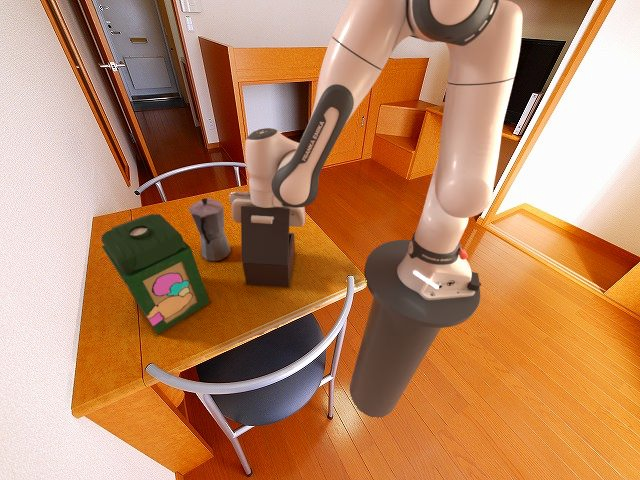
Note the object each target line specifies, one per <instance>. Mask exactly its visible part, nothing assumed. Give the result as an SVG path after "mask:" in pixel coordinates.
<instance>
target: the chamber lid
mask: <svg viewBox="0 0 640 480" xmlns="http://www.w3.org/2000/svg"><path fill="white" fill-rule="evenodd" d="M289 221H290V209H284V208H262V207H252V206H241V223H240V238H241V239H240V240H241V241H240V245H241V246H240V247H241V248H240V249H241V251H240V252H241V264H242V263H257V264H272V265H288V253H289V233H290V226H289Z"/></svg>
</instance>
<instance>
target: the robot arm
mask: <svg viewBox="0 0 640 480" xmlns="http://www.w3.org/2000/svg"><path fill="white" fill-rule="evenodd" d="M523 16H524V15H523V11H522V9H521V7H520V5H518V4H517V3H515V2H513V1H510V0H350V1H349V3H348V5H347V6H346V8H345V9H344V11H343V14H342V16H341V17H340V19H339V21H338V23H337V25H336V27H335V30H334V32H333V34H332V36H331V38H330V41H329V43H328V45H327V49H326V51H325V54H324V56H323V60H322V63H321V68H320V71H319V76H318V81H317V87H316V92H315V99H314V104H313V107H312V112H311V116H310V119H309V121H308V124H307V126H306V128H305V130H304V132H303V134H302V136H301V138H300V141H299V142H297V141H294V140H292V139H290V138H288V137H287V136H285V135H283V134H282V133H281V132H280V131H279V130H277V129H276V128H271V127H266V128H265V127H264V128H259V129H257V130H253V131H252V132H251V133H250V134H248V136H247V137H246V139H245V143H244V156H245V157H244V158H245V167H246V172H247V173H248V177H249V179H248V189H249V191H239V190H235V191H233V192H231V193H229V195H228V198H229V203H230V204H231V218H232V220H233V222H235V223H237V224H241V206H252V207H262V208H284V209H290V221H289V227H296V228H297V227H298V228H302V227H303V226H304V225H305V223H306V208H305V207H308V206H310V205H312V204H313V202H315V200H316V199H317V197H318V193H319V178H320V175H321V172H322V170H323V167H324V165H325V164H326V161H327V160H328V158H329V156H330V154H331V152H332V151H333V149H334V147H335V144H336V143H337V141H338V139H339V137H340V136H341V133H342V131H343V129H344V128H345V126H346V125H347V123H349V122H348V121H349V120H350V119H351V117H352V116H353V114H354V113H355V112H356V110H357V109H358V108H359V106H360V104H361V103H362V102H363V101H364V99H365V97H366V96H367V95H368V94H369V92H370V90H372V88H373V86H374V85H375V83H376V82H377V80H378V78H379V77H380V75H381V73H382V71H383V69H385V66H386V64H387V63H388V61H389V59H390V57H391V55H392V54H393V52H394V51H395V50H396V48H397V47H398V45H400V43H401V42H402V41H403V40H405V39H406V38H409V37H410V38H414V39H417V40H421V41H424V42H428V43H437V42H438V43H445V45H446V46H447V49H448V52H449V62H450V63H449V69H448V74H447V80H446V81H447V82H446V89H445V98H444V103H443V104H444V105H443V114H442V120H441V129H440V130H441V131H440V140H439V150H438V158H437V160H436V163H435V166H434V169H433V173H432V176H431V179H430V184H429V187H428V190H427V194H426V198H425V202H424V205H423V209H422V212H421V215H420V218H419V221H418V224H417V228H416V230H415V231H414V233H413V234H412V237H411V239H410V240H411V241H410V244H409V248H408V252H407V254H406V256H405V258H404V259H403V261H402V262H401V263H400V264H399V266H398V268H397V274H398V277H399V279H400V280H401V281H402V283H403V284H405V285H406V286H407V287H408V288H410V289H412V290H414V291H415V292H417V293H419V294H420V295H421V296H422V297H423V298H424V299H426V300H439V299H449V298H459V297H469V296H473V295H474V293H475V291H476V292H477V290H478V289H479V288H480V287H482V283H481V281H480V277H479V273H478V272H475V271H472V269H471V266H470V263H469V262H468V258H469V255H468V253H467V251H466V250H465V249H463V246H462V244H461V242H460V241H461V239H462V237H463V235H464V233H465V230H466V228H467V227H468V225H469V224H468V223H469V218H472V217H475V216H476V217H477V216H478V215H480V214H481V213H483V212H484V211H485V210H486V209H487V208H488V207H489V206H490V204H491V201H492V198H493V193H494V186H495V181H496V175H497V169H498V163H499V157H500V152H501V151H500V150H501V142H502V135H503V127H504V121H505V117H506V114H507V109H508V106H509V102H510V97H511V94H512V89H513V84H514V81H515V77H516V73H517V68H518V63H519V58H520V53H521V46H522V36H523V23H524V22H523V20H524V17H523ZM431 295H432V296H431Z"/></svg>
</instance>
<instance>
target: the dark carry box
mask: <svg viewBox="0 0 640 480" xmlns="http://www.w3.org/2000/svg"><path fill="white" fill-rule="evenodd" d="M295 243H296V242H295V233H294V232H289V253H288V265H272V264H257V263H242V262H241V264H242V269H243V274H244V279H245V285H251V286H264V287H265V286H266V287H279V288H281V287H282V288H289V287H290V283H291V279H292V278H291V277H292V273H293V265H294V261H295V255H296V253H295V251H296V250H295V249H296V247H295Z"/></svg>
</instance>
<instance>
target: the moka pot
mask: <svg viewBox="0 0 640 480" xmlns="http://www.w3.org/2000/svg"><path fill="white" fill-rule="evenodd" d="M188 210H189V212H190V215H191V217H192V219H193V221H194V224H195V227H196V228H197V231H198V233H199V236H200V248H201V256H202V258H204V259H205V260H206V261H210V262H218V261H221V260H223V259H225V258H227V257H228V256H229V255H230V253H231V246H230V244H229V243H230V242H229V241H228V238H227V236H226V232H225V229H224V228H225V216H224V214H225V212H224V206H223V204H222V203H221V201H220V200H214V199H213V198H212V197H210V198H209V197H208V198H207V197H206V198H205V197H204V198H201V200H199V201H195V202H194V203H193V204H192V205H191V206H189V208H188Z"/></svg>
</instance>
